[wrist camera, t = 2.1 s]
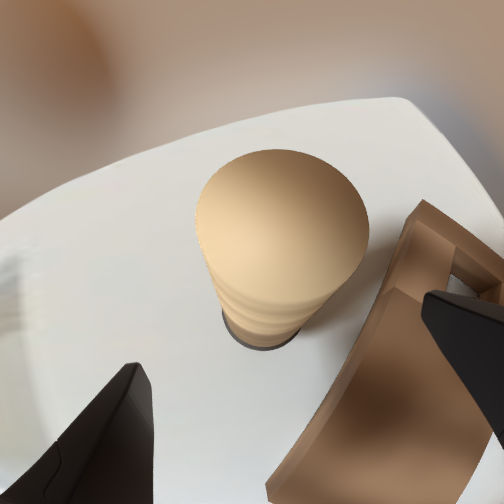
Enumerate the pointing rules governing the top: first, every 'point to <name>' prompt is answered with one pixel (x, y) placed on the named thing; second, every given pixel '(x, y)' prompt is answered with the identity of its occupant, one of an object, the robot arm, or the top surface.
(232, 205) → the oak peg
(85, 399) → the top surface
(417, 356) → the walnut board
